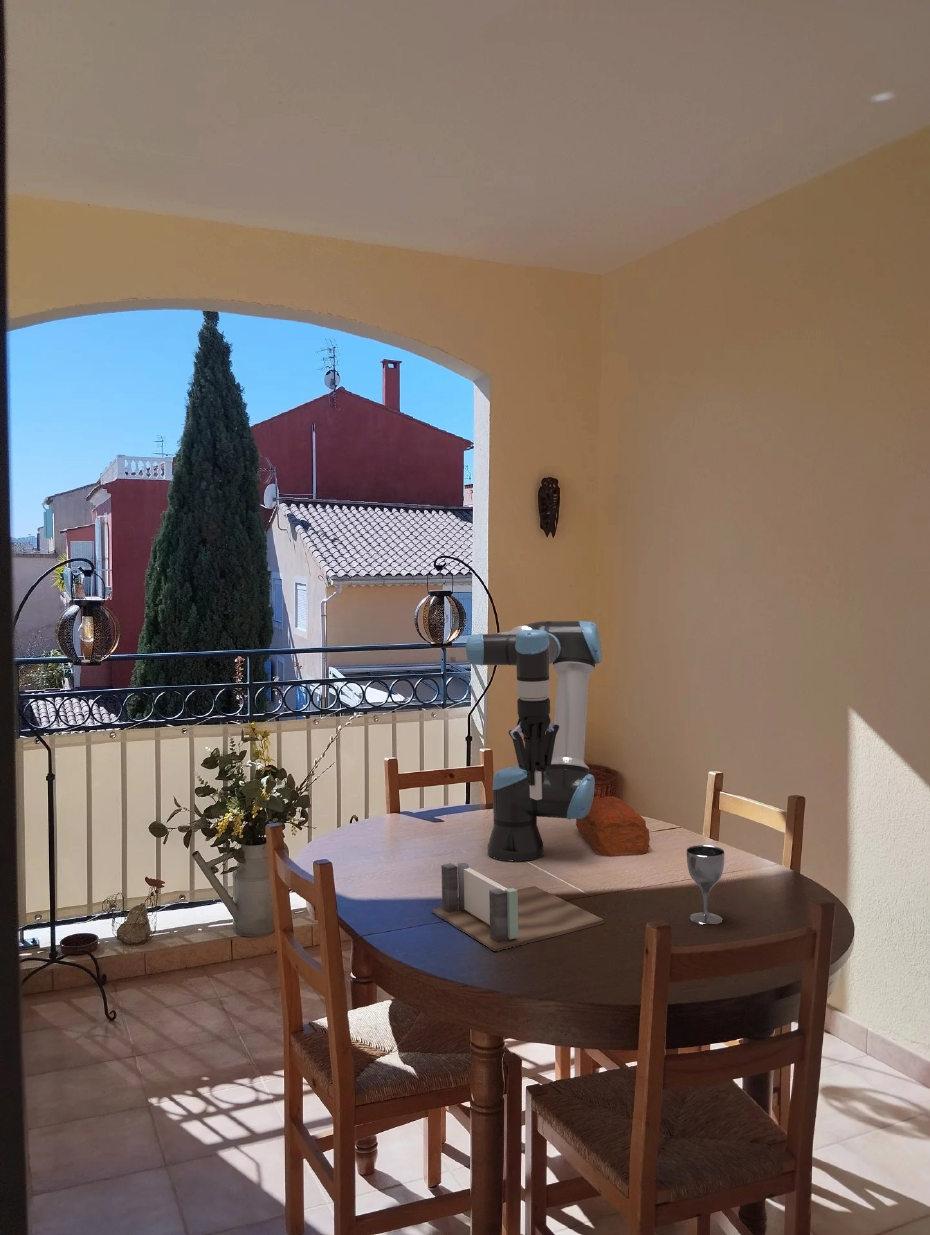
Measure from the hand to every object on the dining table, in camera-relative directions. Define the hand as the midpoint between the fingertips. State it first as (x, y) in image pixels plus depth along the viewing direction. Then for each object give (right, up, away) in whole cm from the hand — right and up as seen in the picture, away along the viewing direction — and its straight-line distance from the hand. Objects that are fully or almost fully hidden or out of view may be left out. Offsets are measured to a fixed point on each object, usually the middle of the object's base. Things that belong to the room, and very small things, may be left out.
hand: (535, 798), depth 220 cm
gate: (-12, -24, -16) cm, 31 cm away
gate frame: (-5, -24, -11) cm, 27 cm away
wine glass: (+36, -24, -14) cm, 45 cm away
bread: (+24, -21, +45) cm, 55 cm away
